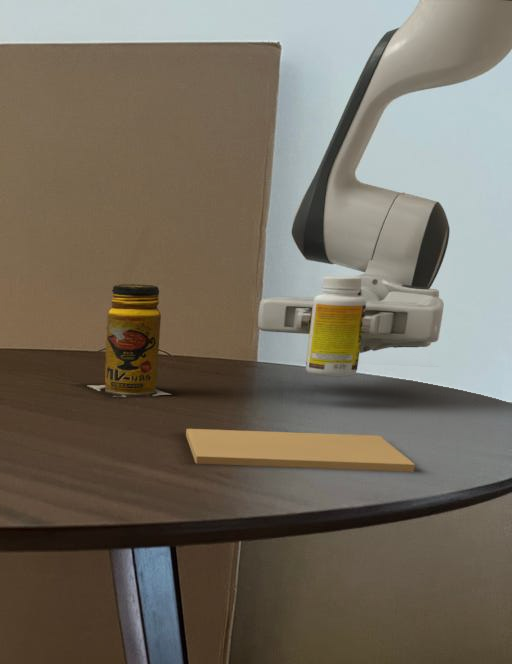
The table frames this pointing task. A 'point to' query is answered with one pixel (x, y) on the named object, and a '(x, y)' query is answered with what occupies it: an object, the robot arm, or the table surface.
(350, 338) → the supplement bottle
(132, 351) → the condiment
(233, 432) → the wooden board
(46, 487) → the table surface
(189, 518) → the table surface
